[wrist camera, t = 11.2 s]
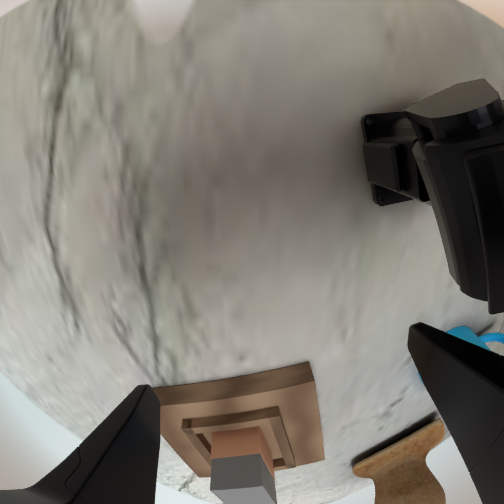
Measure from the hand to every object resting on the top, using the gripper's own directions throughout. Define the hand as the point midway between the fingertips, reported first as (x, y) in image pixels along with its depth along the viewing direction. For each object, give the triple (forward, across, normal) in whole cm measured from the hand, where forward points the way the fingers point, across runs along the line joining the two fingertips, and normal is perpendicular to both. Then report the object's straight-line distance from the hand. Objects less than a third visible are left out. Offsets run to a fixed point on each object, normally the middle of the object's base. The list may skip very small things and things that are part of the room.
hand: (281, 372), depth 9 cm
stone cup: (+13, -14, +38) cm, 43 cm away
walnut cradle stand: (+12, +6, +20) cm, 24 cm away
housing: (+10, +6, +20) cm, 23 cm away
